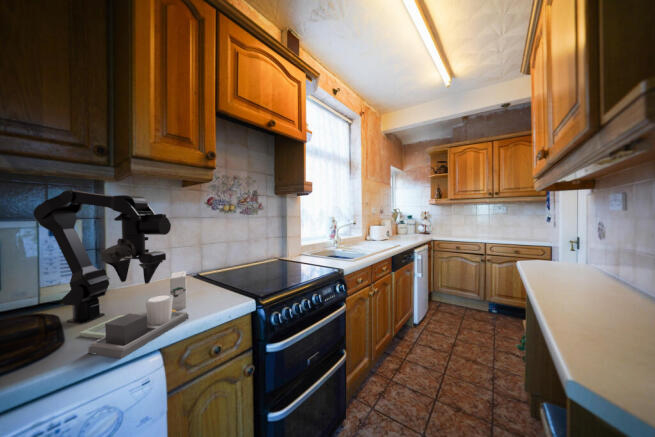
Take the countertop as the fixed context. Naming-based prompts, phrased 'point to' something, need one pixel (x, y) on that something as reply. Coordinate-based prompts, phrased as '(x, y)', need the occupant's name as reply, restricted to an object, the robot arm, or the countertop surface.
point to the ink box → (178, 290)
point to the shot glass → (159, 309)
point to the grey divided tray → (132, 334)
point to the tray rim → (90, 332)
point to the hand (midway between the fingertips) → (135, 282)
